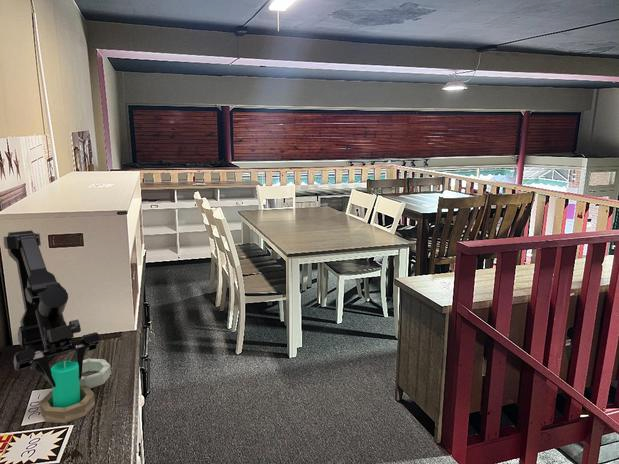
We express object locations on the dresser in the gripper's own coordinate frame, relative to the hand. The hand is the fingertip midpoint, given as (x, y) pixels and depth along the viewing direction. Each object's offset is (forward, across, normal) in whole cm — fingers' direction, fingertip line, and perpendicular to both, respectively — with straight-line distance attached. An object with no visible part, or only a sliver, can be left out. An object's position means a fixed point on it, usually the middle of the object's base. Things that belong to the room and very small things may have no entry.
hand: (67, 382), depth 108 cm
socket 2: (-4, +8, +15) cm, 17 cm away
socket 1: (+5, 0, +6) cm, 8 cm away
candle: (+4, 0, +6) cm, 7 cm away
